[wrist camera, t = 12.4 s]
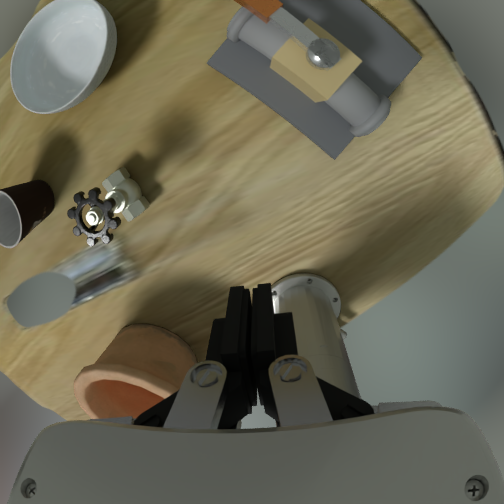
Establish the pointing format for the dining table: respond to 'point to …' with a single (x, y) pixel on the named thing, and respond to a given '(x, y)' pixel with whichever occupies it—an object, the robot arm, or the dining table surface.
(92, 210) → the valve
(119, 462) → the robot arm
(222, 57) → the valve board
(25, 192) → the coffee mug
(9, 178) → the dining table surface
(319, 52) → the valve lever
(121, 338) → the pottery
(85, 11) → the cereal bowl
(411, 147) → the dining table surface
